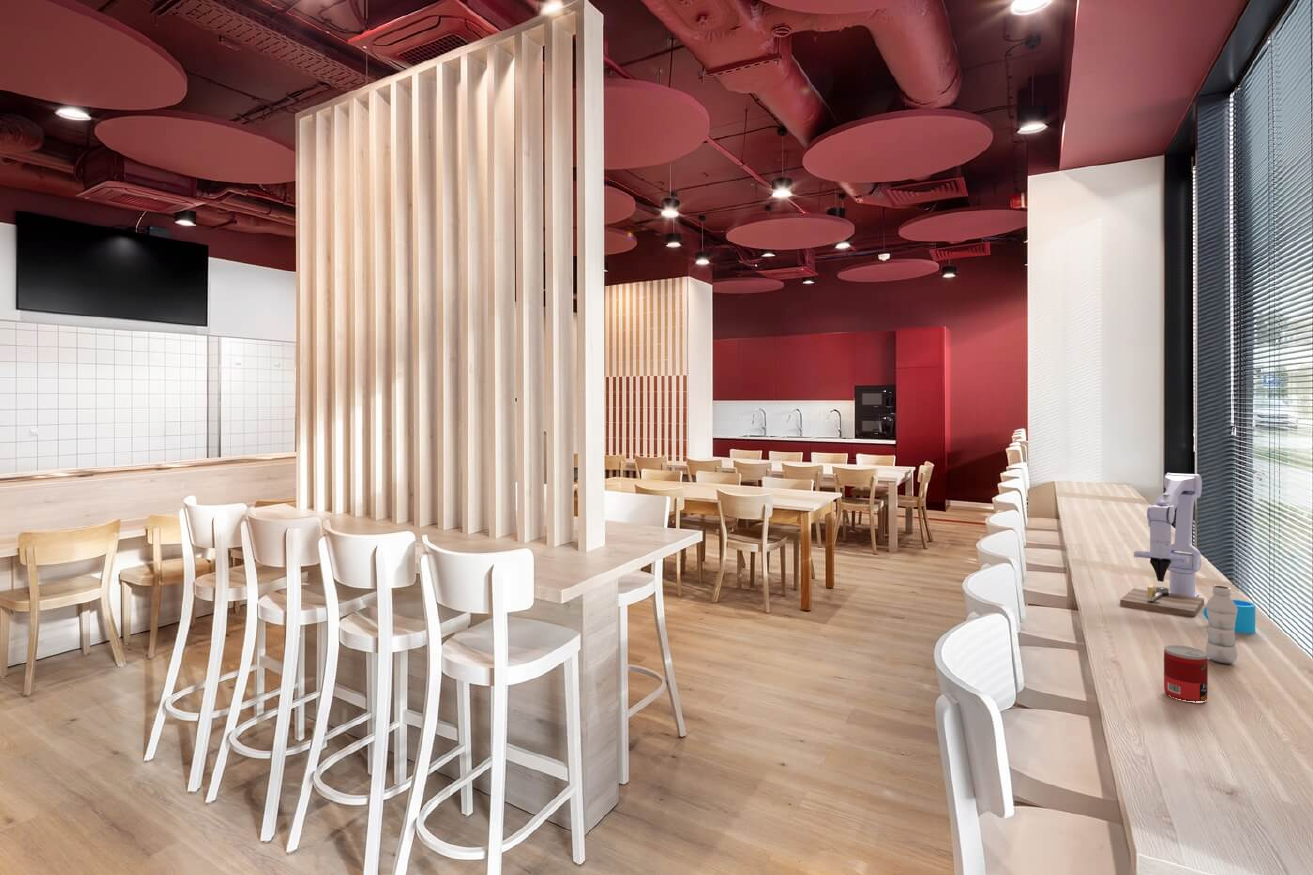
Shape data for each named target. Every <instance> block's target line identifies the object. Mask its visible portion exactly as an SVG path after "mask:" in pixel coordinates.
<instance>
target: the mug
mask: <svg viewBox="0 0 1313 875" xmlns="http://www.w3.org/2000/svg"><path fill="white" fill-rule="evenodd" d="M1231 599H1232V598H1231ZM1232 601H1233V602H1234V603H1235V605H1236V606H1237V609H1238V610H1237V616H1236V621H1235V629H1234V630H1235V632H1238V633H1237V634H1243V633H1248V634H1249V633H1252V634H1255V633H1256V604H1255V603H1253V602H1250V601H1246V600H1239V599H1232ZM1203 616H1204V617H1205V619H1206V620H1207V621H1208V616H1207V609H1206V606H1205V607H1204V609H1203ZM1235 632H1234V633H1235ZM1248 634H1247V635H1248ZM1249 635H1250V634H1249Z"/></svg>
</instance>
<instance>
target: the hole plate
mask: <svg viewBox="0 0 1313 875" xmlns="http://www.w3.org/2000/svg"><path fill="white" fill-rule="evenodd" d="M1147 598H1148V589H1143V588H1142V589H1141V588H1132V589H1131V590H1130V591H1128V592H1127V593H1126V594H1125V595H1123V597H1122V598H1120V600H1119V603H1120V604H1119V606H1121V605H1122V606H1121V607H1127V606H1128V607H1129V608H1134V609H1139V610H1140V609H1141V610H1142V609H1143V610H1147V611H1153V612H1159V613H1166V614H1173V615H1177V616H1178V615H1179V616H1184V617H1185V616H1186V617H1192V618H1196V616H1197V615H1198V613H1199V612H1200V611H1201V609H1202V607H1203V606H1204V605H1205V598H1204V597H1198V596H1197V597H1192V596H1185V595H1177V594H1170V593H1169V595H1162V596H1160V597H1159V598H1157V599H1155V600H1153V601H1152V602H1149V601H1148V600H1147Z"/></svg>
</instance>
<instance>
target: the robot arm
mask: <svg viewBox="0 0 1313 875" xmlns="http://www.w3.org/2000/svg"><path fill="white" fill-rule="evenodd" d="M1163 486H1164V488H1165V492H1163V493H1161V494H1159V496H1158V497H1157V499H1156V500H1155V502H1154V503H1153V504H1152V505H1150V506H1148V507H1147V509H1146V510H1147V511H1146V518H1147V525H1148V527H1149V551H1143V550H1141V551H1140V550H1134V551H1133V558H1142V559H1143V558H1144V559H1150V560H1149V563H1150V565H1151V566H1152V568H1153V570H1154V572H1155V575H1156V580H1157V582H1162V583H1163V582H1164V581H1165V577H1166V576H1165V575H1166V573H1167V571H1169V573H1168V574H1169V577H1168V579H1169V588H1168V589H1169V593H1170V594H1177V595H1185V596H1192V597H1198V596H1199V594H1200V593H1199V592H1196V573H1198V572H1200V571H1201V568H1202V558H1201V556H1202V555H1201V551H1200V549H1198V548H1197V547H1195V546H1194V545H1193V544H1192V538H1193V537H1192V534H1193V520H1194V519H1193V518H1194V506H1195V501H1196V499H1199V498H1201V496H1202V491H1203V490H1202V489H1203V479H1202V476H1201V475H1200V474H1199V473H1195V474H1194V473H1173V472H1167V473H1166V474H1165V475H1164V476H1163ZM1175 511H1176V512H1175ZM1175 515H1176V516H1175ZM1174 521H1175V531H1174V543H1172V524H1173V522H1174Z"/></svg>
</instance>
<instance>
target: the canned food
mask: <svg viewBox="0 0 1313 875" xmlns="http://www.w3.org/2000/svg"><path fill="white" fill-rule="evenodd" d="M1208 659H1209V658H1208V656H1207V653H1206V651H1203V650H1201V649H1199V648H1196V647H1195V648H1194V647H1192V646H1191V647H1190V646H1185V645H1178V644H1177V645H1175V644H1172V645H1165V646H1164V650H1163V691H1164V692H1165V694H1167V695H1166V696H1168V695H1170V696H1171V697H1174V698H1177V699H1181V700H1186V701H1195V702H1196V701H1205V700H1206V701H1207V700H1208V695H1209V694H1208V688H1209V687H1208V682H1209V681H1208V680H1209V678H1208V674H1209V673H1208V671H1209V670H1208V668H1209V665H1208V664H1209V662H1208ZM1171 697H1170V698H1171Z"/></svg>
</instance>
